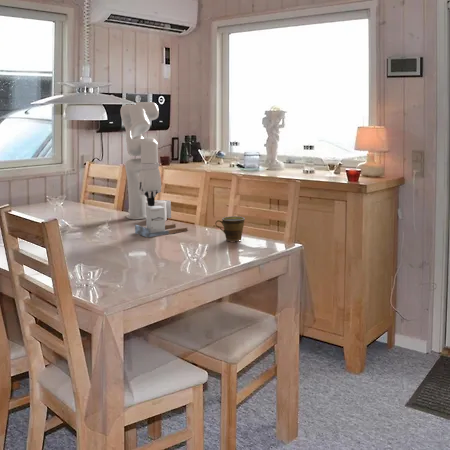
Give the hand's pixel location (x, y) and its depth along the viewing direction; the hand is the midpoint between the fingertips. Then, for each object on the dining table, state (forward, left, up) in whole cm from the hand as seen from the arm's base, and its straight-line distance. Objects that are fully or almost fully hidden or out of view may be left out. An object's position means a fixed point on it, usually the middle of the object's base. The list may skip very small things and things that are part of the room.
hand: (151, 205), depth 289 cm
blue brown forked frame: (0, +5, -13) cm, 14 cm away
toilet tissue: (-27, +18, -13) cm, 35 cm away
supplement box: (0, +2, -14) cm, 14 cm away
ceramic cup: (+36, +19, -13) cm, 43 cm away
